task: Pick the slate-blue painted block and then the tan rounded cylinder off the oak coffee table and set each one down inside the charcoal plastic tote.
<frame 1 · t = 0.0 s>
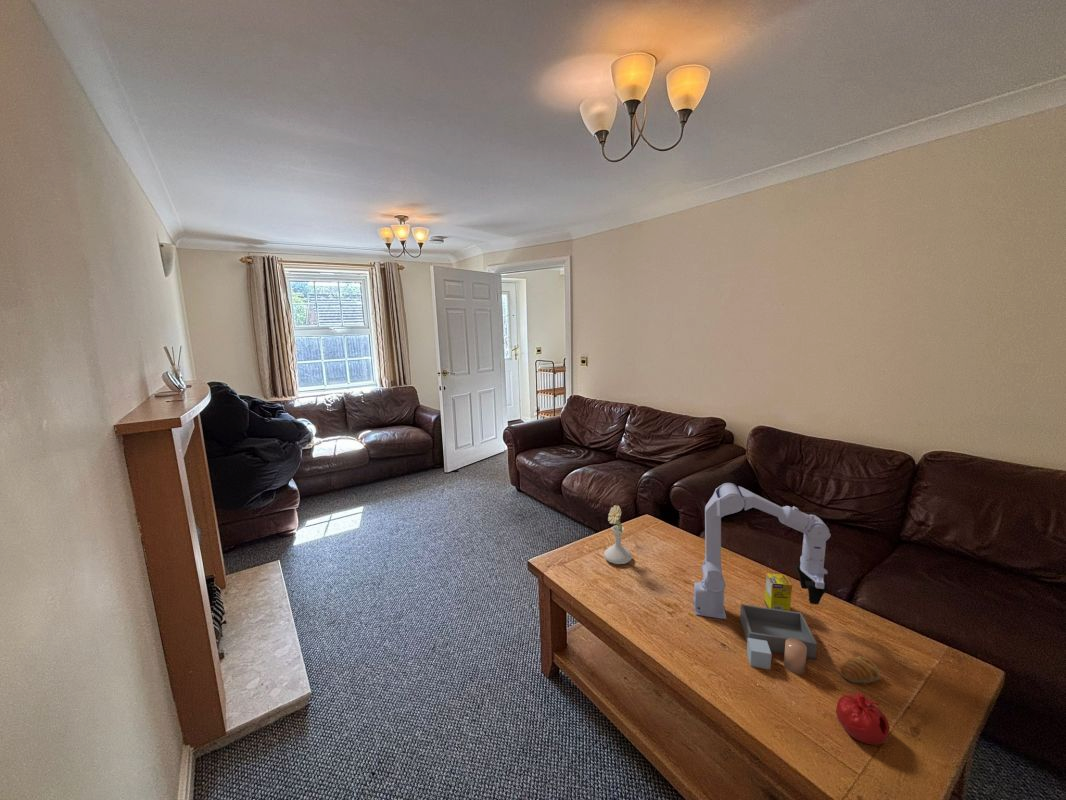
hand: (809, 595, 128), 10 cm above the table, fingers open, 7 cm apart
pastry: (859, 676, 111), on the table
flower in vase: (618, 560, 169), on the table
charcoal tote: (775, 637, 125), on the table
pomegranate: (860, 731, 96), on the table
slate-blue block: (758, 661, 117), on the table
supplement box: (776, 608, 138), on the table
tan rounded cylinder: (794, 667, 114), on the table
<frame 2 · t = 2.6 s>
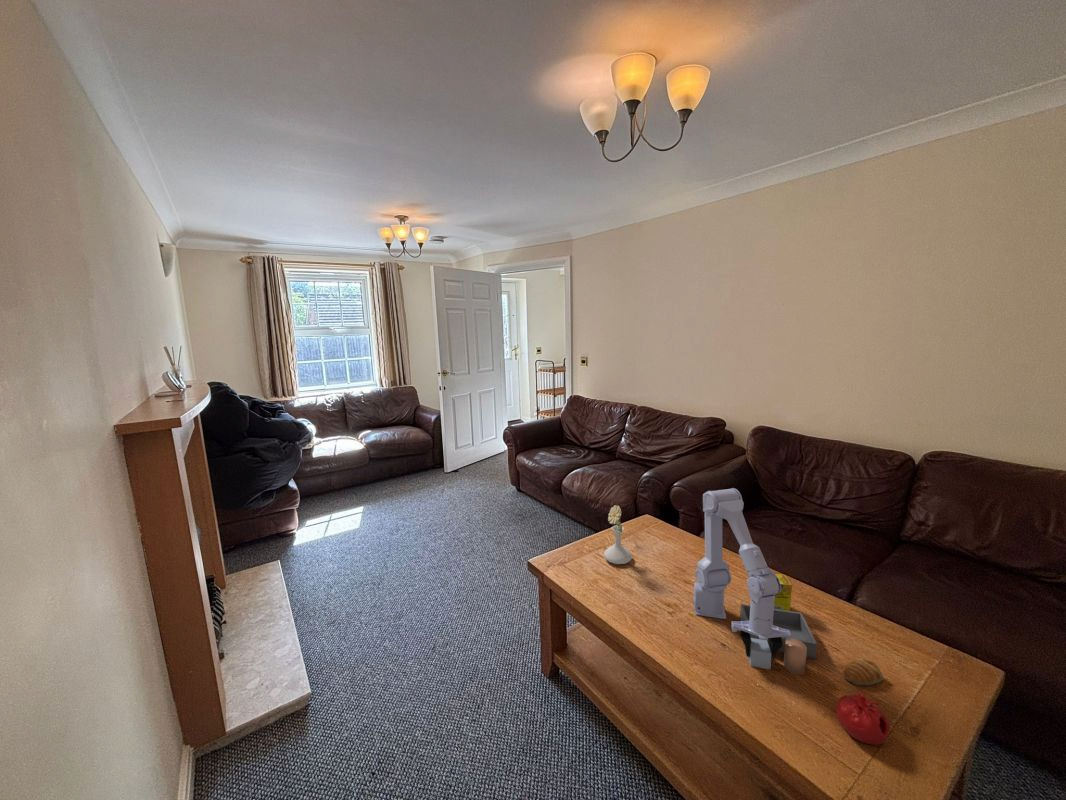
hand: (758, 656, 117), 1 cm above the table, fingers closed on slate-blue block, 5 cm apart
slate-blue block: (758, 660, 117), on the table, touching gripper
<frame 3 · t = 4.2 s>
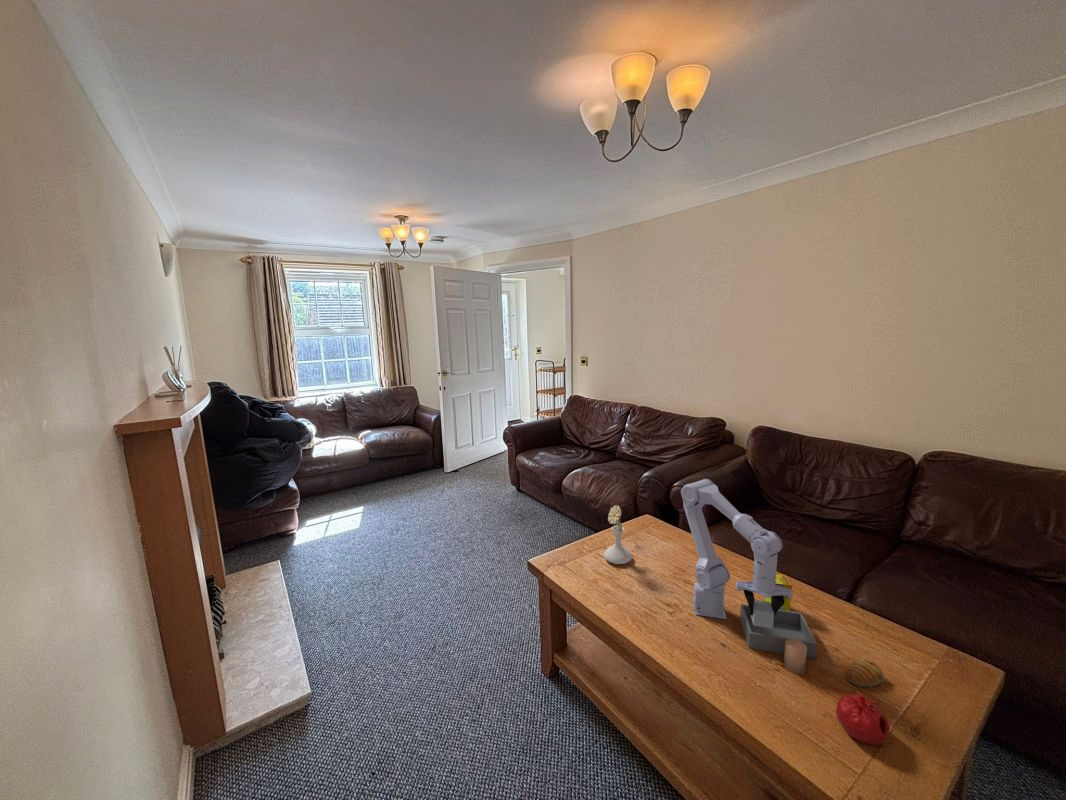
hand: (761, 614, 122), 9 cm above the table, fingers closed on slate-blue block, 5 cm apart
slate-blue block: (761, 621, 122), point 7 cm above the table, touching gripper
when the fingers open (5 cm above the table, at t = 5.7 s): slate-blue block drops 3 cm, resting on charcoal tote.
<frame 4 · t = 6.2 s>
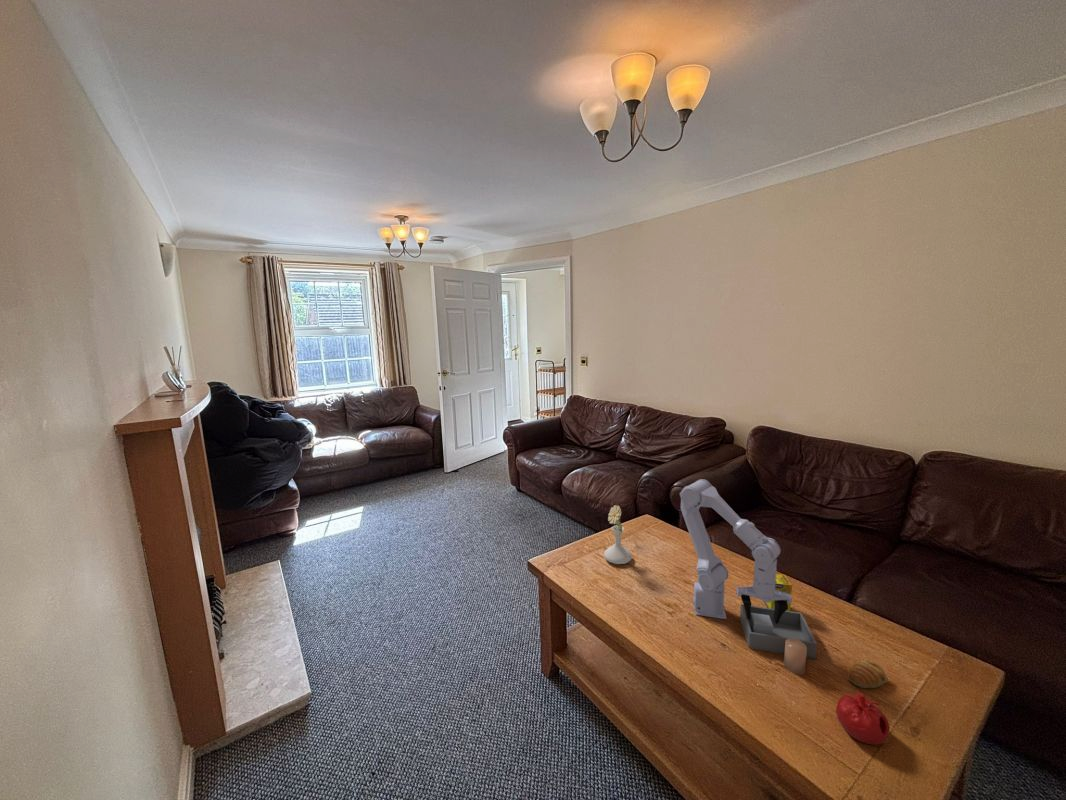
hand: (761, 619, 125), 5 cm above the table, fingers open, 7 cm apart
slate-blue block: (760, 633, 126), point 1 cm above the table, touching charcoal tote
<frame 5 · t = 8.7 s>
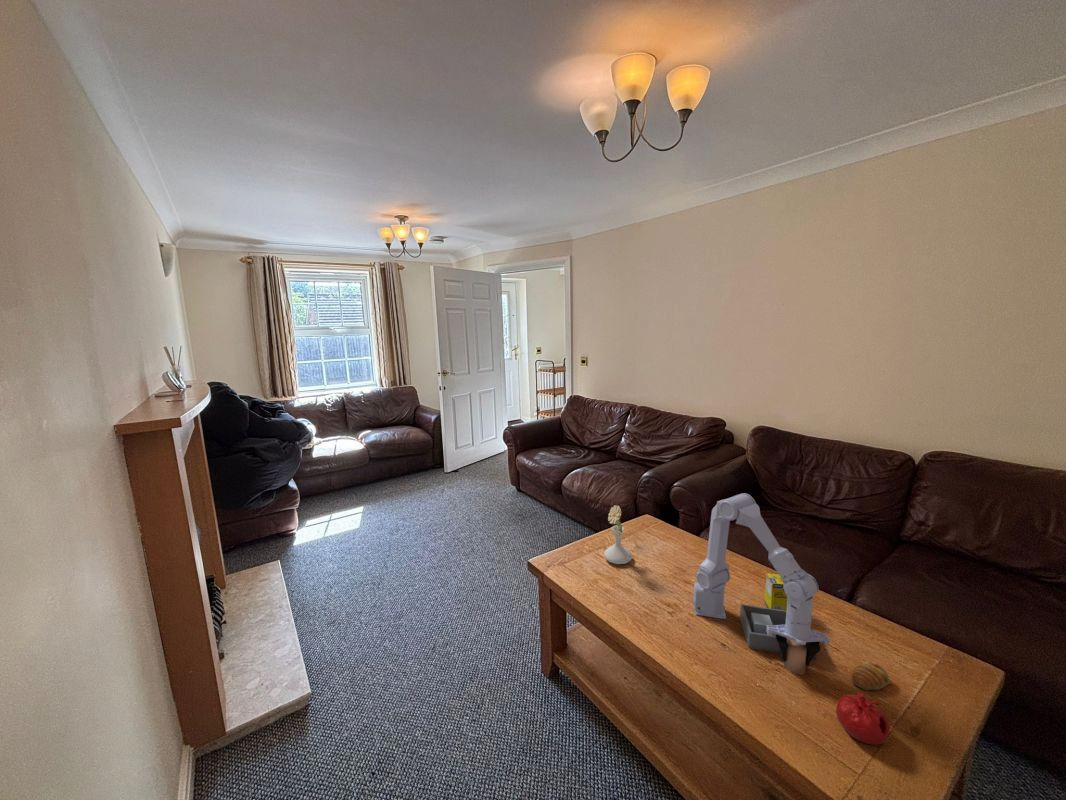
hand: (794, 661, 114), 2 cm above the table, fingers closed on tan rounded cylinder, 5 cm apart
tan rounded cylinder: (794, 667, 114), on the table, touching gripper
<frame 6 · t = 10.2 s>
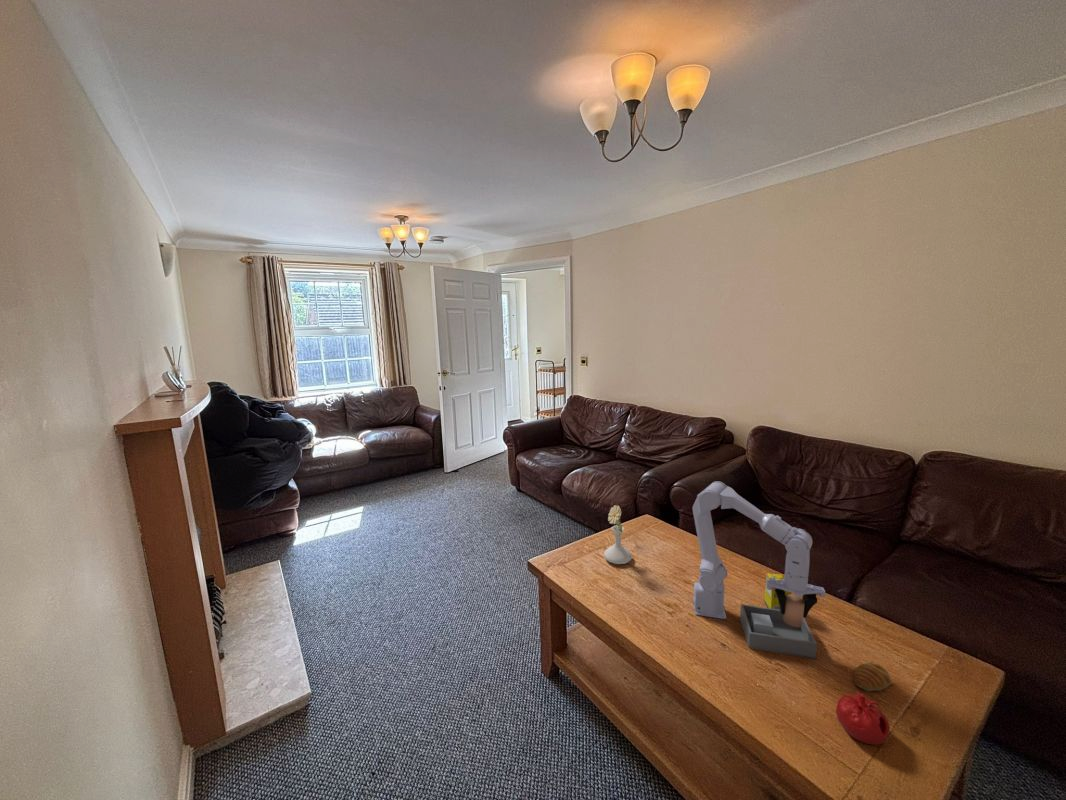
hand: (792, 613, 121), 10 cm above the table, fingers closed on tan rounded cylinder, 5 cm apart
tan rounded cylinder: (792, 621, 121), point 8 cm above the table, touching gripper
when the fingers open (5 cm above the table, at t = 11.7 s): tan rounded cylinder drops 3 cm, resting on charcoal tote.
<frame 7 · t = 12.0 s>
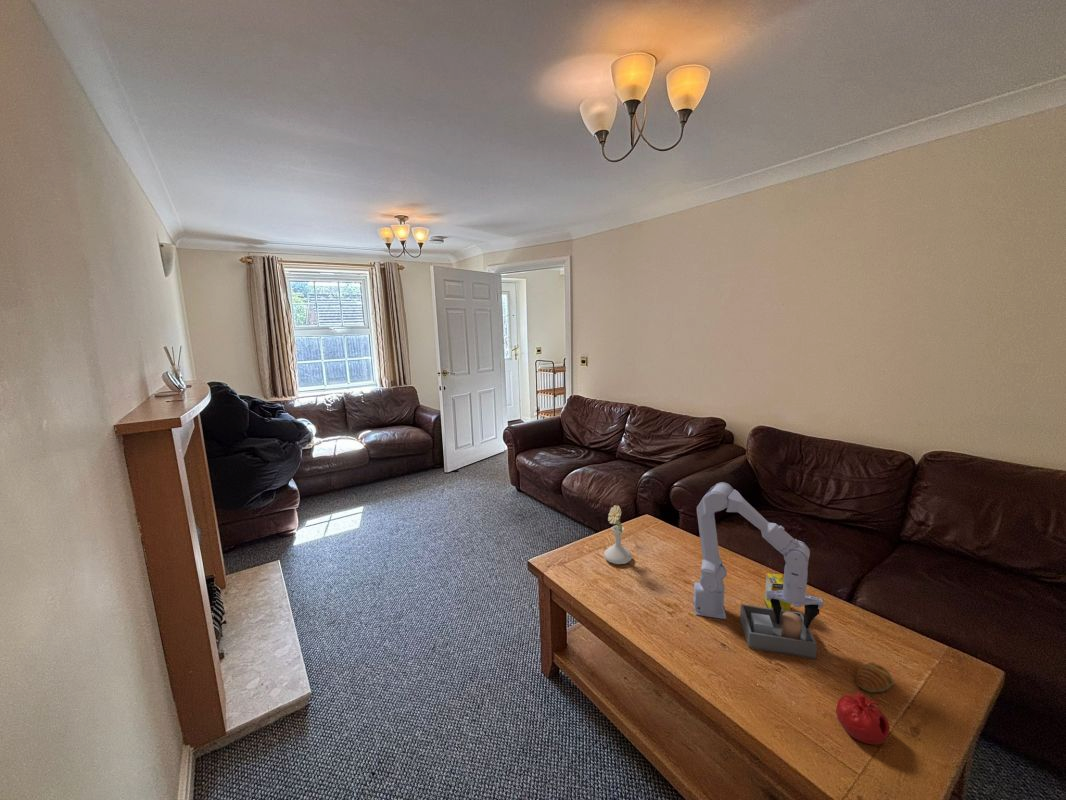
hand: (791, 623, 123), 5 cm above the table, fingers open, 7 cm apart
tan rounded cylinder: (790, 638, 124), point 1 cm above the table, touching charcoal tote
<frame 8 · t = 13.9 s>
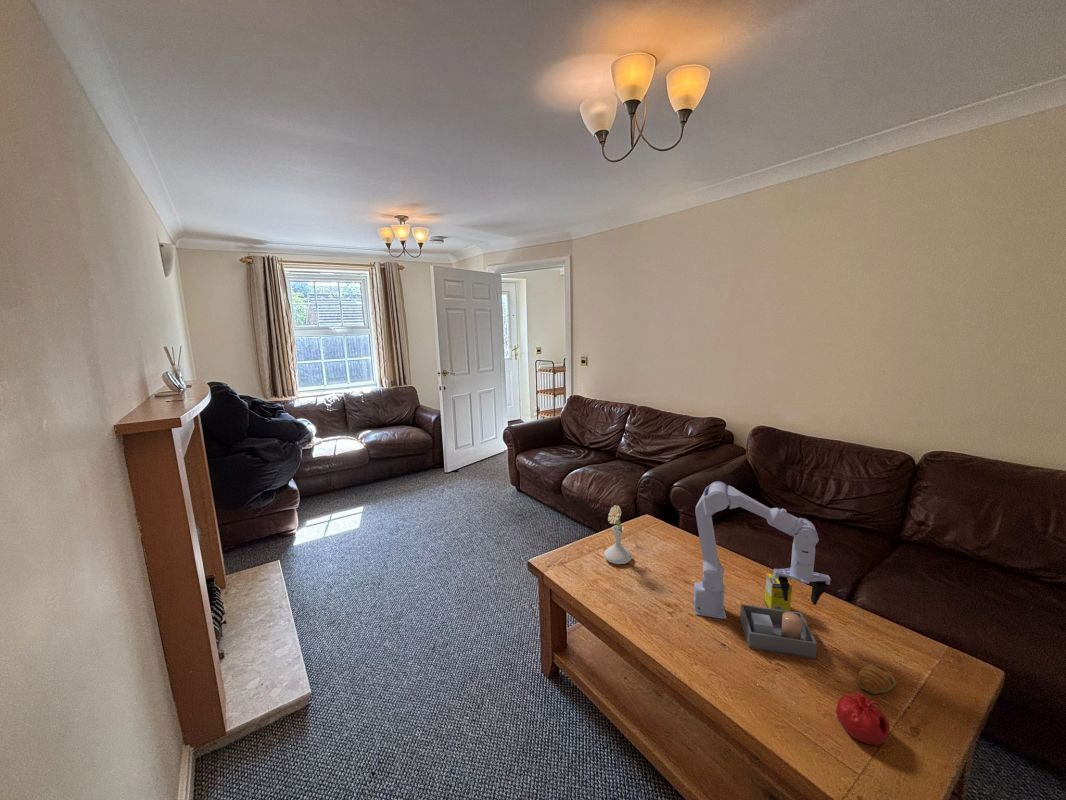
hand: (799, 600, 126), 10 cm above the table, fingers open, 7 cm apart
at the end: slate-blue block inside the target area on the charcoal tote (4.0 cm from its centre), point 0.6 cm above the charcoal tote's base; tan rounded cylinder inside the target area on the charcoal tote (4.0 cm from its centre), point 0.6 cm above the charcoal tote's base; the gripper is holding nothing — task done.
